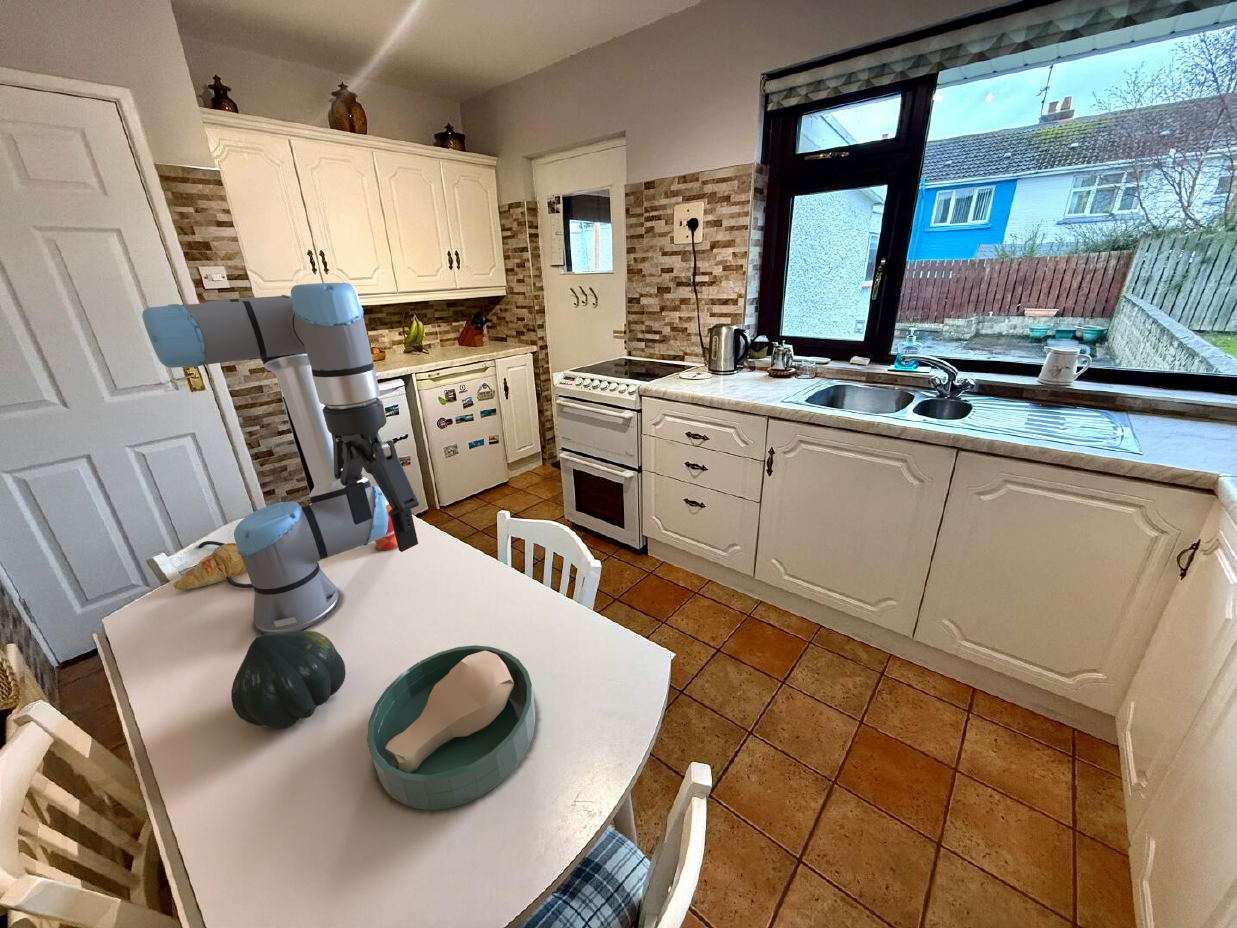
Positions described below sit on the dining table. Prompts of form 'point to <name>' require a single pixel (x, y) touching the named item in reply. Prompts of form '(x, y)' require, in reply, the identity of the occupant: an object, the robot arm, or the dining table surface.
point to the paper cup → (387, 533)
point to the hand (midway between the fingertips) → (385, 533)
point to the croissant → (213, 568)
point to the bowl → (461, 761)
